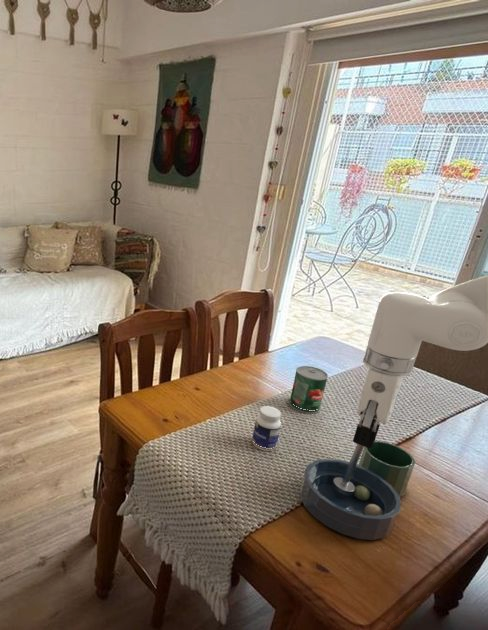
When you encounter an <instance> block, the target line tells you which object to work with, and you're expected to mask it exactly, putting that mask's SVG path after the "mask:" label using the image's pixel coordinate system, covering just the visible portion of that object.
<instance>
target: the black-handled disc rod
mask: <svg viewBox="0 0 488 630" xmlns="http://www.w3.org/2000/svg"><path fill="white" fill-rule="evenodd" d="M372 422H375V421H373V420H372ZM363 449H364V446H362V445H359V444H356V446H355V447H354V451H353V453H352V455H351V457H350V460H349V461H348V462H349V465H348V467H347V470H346V472H345V474H344V477H343V478H341V477H336V478H334V480H333V482H332V486H333V488H334V489H335V490H336V491H337V492H339V493H341V494H343V495H348V496H349V495H352V494H353V493H354V490H355V486H354V485H353V484H352V483H351V482H350V478H351V476H352V474H353V471H354V469H355V467H356V465H358V463H359V461H360V458H361V456H362V453H363Z"/></svg>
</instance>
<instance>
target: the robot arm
mask: <svg viewBox="0 0 488 630" xmlns="http://www.w3.org/2000/svg"><path fill="white" fill-rule="evenodd" d="M422 342H424V343H425V342H426V343H429V344H432V345H436V346H438V347H442V348H445V349H449V350H455V351H461V352H463V351H465V352H466V351H468V352H469V351H475V350H478V349H480V348H482V347H484V346H486V345H487V344H488V274H486V275H483V276H479V277H477V278H474V279H470V280H467V281H464V282H462V283H459V284H455V285H454V286H450V287H448V288H445V289H443V290H441V291H438V292H436V293H434V294H433V295H432V296H430V298H426V297H424V296H421V295H419V294H415V293H410V292H404V291H391V292H387V293H385V294H383V295H382V296H381V297H380V299H379V302H378V306H377V309H376V312H375V316H374V320H373V323H372V326H371V330H370V333H369V337H368V340H367V344H366V348H365V352H364V354H363V355H364V356H363V359H362V363H363V364H364V365H365V366H366V367H367V372H366V375H365V379H364V383H363V386H362V388H361V393H360V398H359V403H358V406H357V412H356V413H357V415H358V417H360V420H359V423H357V425H356V429H355V433H354V435H353V439H352V442H353V443H354V444H355V445H357V444H359V445H362V446H364V447H367V448H372V446H373V443H374V441H376V439H377V435H378V432H379V428H380V426H381V424H382V425H387V424H388V423H389V421H390V418H391V416H392V412H393V411H394V409H395V405H396V402H397V399H398V395H399V392H400V389H401V385H402V383H403V378H404V377H405V376H409V375H411V374H412V372H413V370H414V366H415V364H416V360H417V357H418V355H419V351H420V348H421V345H422ZM372 420H373V421H375V422H372Z"/></svg>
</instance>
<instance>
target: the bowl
mask: <svg viewBox="0 0 488 630" xmlns="http://www.w3.org/2000/svg"><path fill="white" fill-rule="evenodd" d="M349 462H350V461H346V460H342V459H336V458H335V459H334V458H322V459H315V460H314V461H311V462H310V463H308V464H307V466H306V467H305V469H304V472H303V476H302V480H301V483H300V487H299V498H300V500H301V502H302V504H303V506H304V508H305V509H306V510H307V511H308V513H310V514H311V515H312V516H313V517H314V518H315V519H316V520H317V521H319V522H321V524H323V525H324V526H326V527H327V528H330V529H331V530H334V531H335V532H338V533H339V534H342V535H344V536H347V537H352V538H354V539H358V540H367V541H375V540H380V539H385V538H387V537H388V536H389V535H391V534H392V533H393V531H394V528H395V525H396V523H397V521H398V517H399V515H400V510H401V507H402V501H401V499H400V498H401V497H399V495H398V494H397V492H396V491H395V490H394V488H393V487H392V486H391V485H390V484H389V483H388V482H386V481H385V480H384V479H383V478H381V477H380V476H379V475H377V474H375V473H373V472H372V471H370V470H368V469H366V468H364V467H361V466H359V464H356V467H355V469H354V471H353V474H352V476H351V478H350V482H351V483H352V484H353V485H354V486H355V487H356V486H358V485H361V486H364V487H366V488H367V489H368V490H369V492H370V498H369V499H368V500H366V501H361V500H358V499H357V498H356V497H355V496H354V494H352V495H349V496H348V495H343V494H341V493H339V492H337V491H336V490H335V489H334V488H333V486H332V482H333V480H334V478H336V477H341V478H343V477H344V474H345V472H346V470H347V467H348V465H349ZM368 504H375V505H377V506H379V507H380V508H381V510H382V512H383V515H379V516H373V515H366V514H365V511H364V510H365V507H366V506H367V505H368Z"/></svg>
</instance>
